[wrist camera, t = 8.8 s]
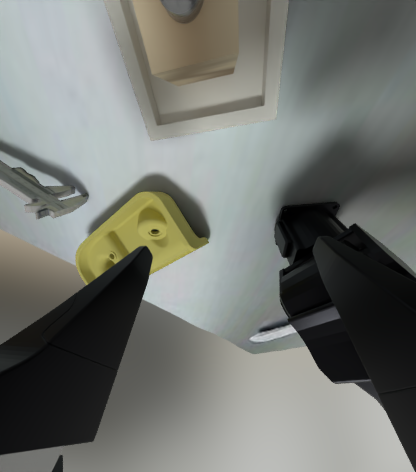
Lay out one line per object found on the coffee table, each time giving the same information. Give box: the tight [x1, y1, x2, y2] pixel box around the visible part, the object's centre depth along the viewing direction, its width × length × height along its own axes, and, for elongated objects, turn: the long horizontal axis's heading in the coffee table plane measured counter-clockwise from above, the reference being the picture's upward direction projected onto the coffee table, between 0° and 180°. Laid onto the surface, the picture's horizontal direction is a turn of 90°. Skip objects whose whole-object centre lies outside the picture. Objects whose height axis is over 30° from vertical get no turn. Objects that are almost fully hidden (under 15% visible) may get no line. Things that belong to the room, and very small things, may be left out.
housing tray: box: [104, 0, 289, 141], centre depth 11 cm, size 11×11×2 cm
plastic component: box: [76, 192, 209, 285], centre depth 24 cm, size 20×7×10 cm
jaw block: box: [132, 0, 239, 86], centre depth 8 cm, size 4×4×7 cm
